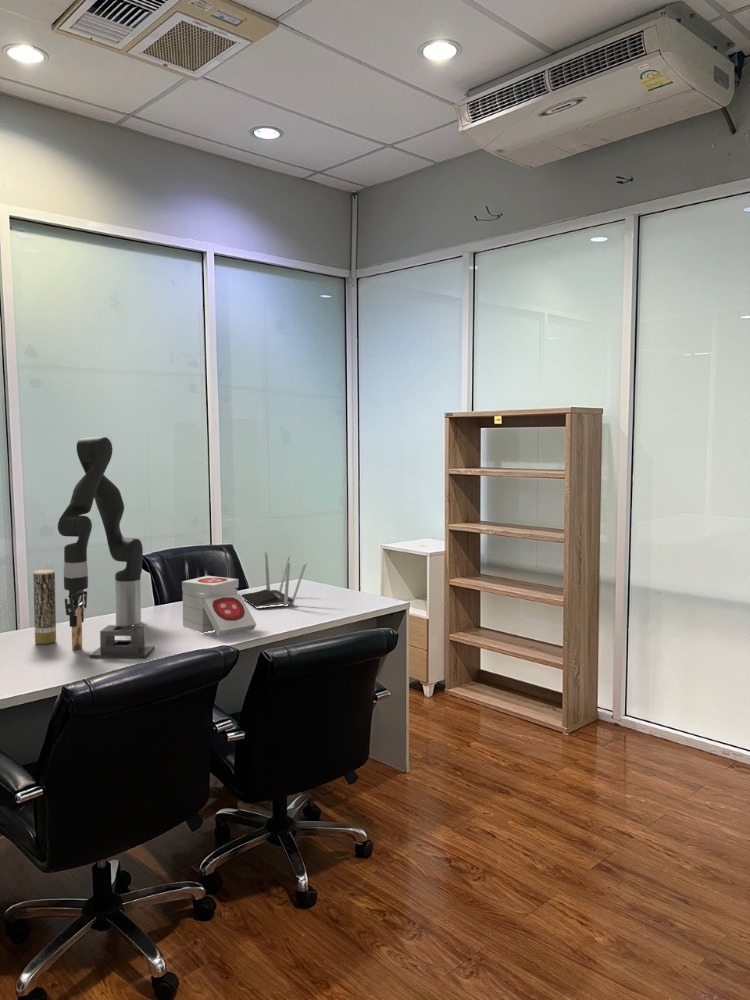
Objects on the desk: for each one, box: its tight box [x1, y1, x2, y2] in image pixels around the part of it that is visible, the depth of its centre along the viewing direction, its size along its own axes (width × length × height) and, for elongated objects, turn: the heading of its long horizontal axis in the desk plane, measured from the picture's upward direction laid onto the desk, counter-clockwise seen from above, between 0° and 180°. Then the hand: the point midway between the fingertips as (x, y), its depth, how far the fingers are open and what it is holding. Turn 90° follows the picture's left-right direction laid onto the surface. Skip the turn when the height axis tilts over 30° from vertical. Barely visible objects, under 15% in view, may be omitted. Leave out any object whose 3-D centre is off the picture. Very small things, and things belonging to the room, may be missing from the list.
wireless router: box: [240, 551, 308, 607], centre depth 335 cm, size 34×23×20 cm
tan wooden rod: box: [71, 607, 83, 651], centre depth 258 cm, size 3×3×14 cm
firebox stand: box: [89, 624, 156, 660], centre depth 253 cm, size 11×18×8 cm, turn 90°
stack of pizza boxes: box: [181, 575, 257, 637], centre depth 286 cm, size 19×30×18 cm, turn 42°
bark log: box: [32, 569, 57, 645], centre depth 265 cm, size 7×7×25 cm
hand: (76, 624), depth 258 cm, fingers open, 5 cm apart
